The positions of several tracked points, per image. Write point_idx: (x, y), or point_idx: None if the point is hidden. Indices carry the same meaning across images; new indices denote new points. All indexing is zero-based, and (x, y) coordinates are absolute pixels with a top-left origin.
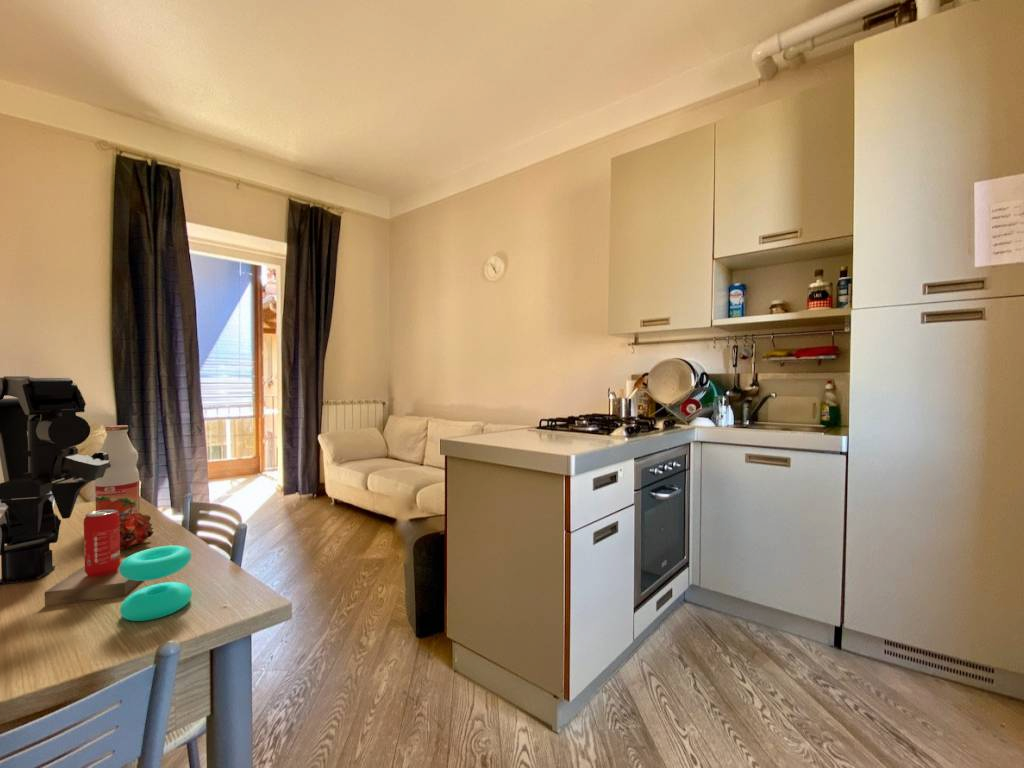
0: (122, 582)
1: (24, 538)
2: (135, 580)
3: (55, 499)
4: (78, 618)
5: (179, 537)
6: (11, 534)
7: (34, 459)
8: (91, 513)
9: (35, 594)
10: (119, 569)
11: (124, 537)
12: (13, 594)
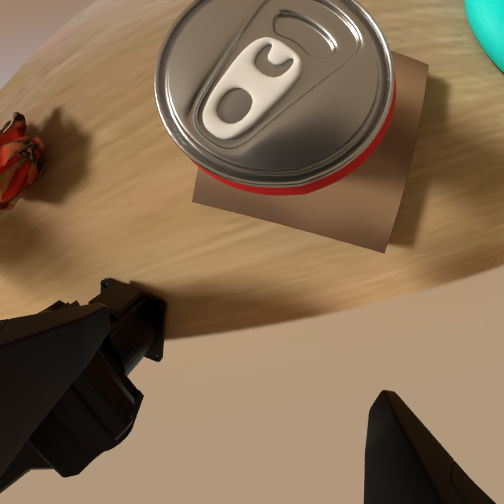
0: (424, 70)
1: (117, 382)
2: None
3: (39, 419)
4: (494, 160)
5: (28, 73)
6: (129, 419)
7: None
8: (246, 148)
9: (269, 281)
10: None
11: (29, 160)
12: (239, 323)
